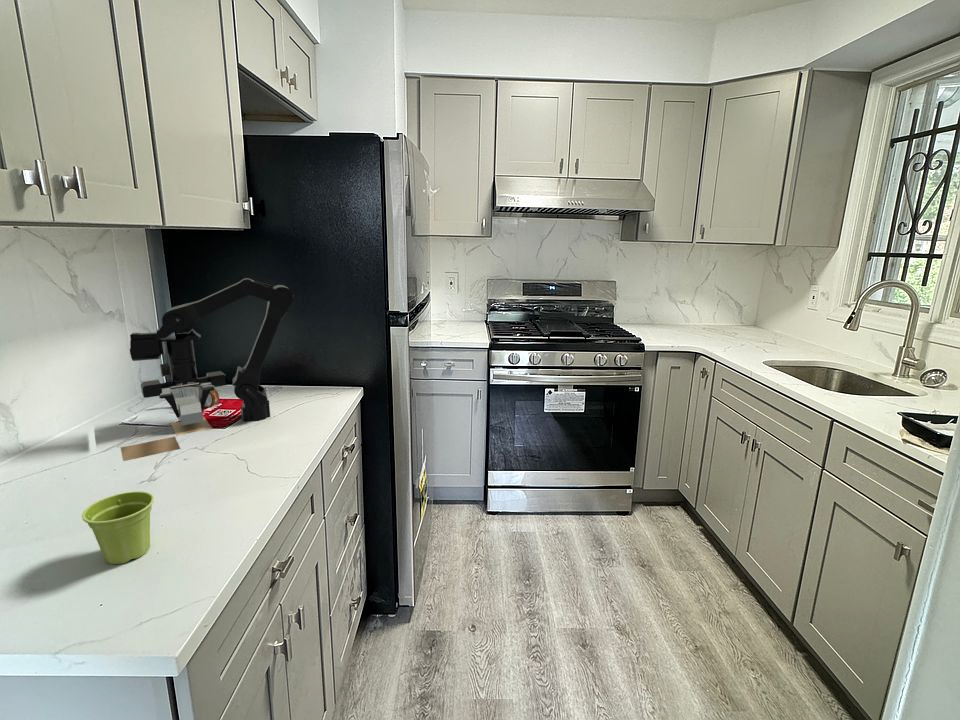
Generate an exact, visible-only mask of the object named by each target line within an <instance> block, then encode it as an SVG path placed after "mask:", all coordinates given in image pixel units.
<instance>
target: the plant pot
mask: <svg viewBox="0 0 960 720" xmlns="http://www.w3.org/2000/svg"><path fill="white" fill-rule="evenodd" d="M154 501H155V497H154V495H153V493H150V492H148V491H144V490H143V491H139V490H138V491H134V490H133V491H125V492H121V493H116V494H113V495H109V496H107V497H104V498H102V499H99V500H98V501H95V502H94V503H92V504H91V505H89V506H88V507H86V508H85V509H84V510H83V512H82V513H81V518H82V521H84V522H85V523H87V525H88V526H89V528H90V529H91V530H92V532H93V535H94V538H95V540H96V542H97V544H98V546H99V547H98V548H99V550H100V552H101V555H102V557H103V558H104V561H105V562H106V563H107V564H110V565H118V564H125V563H128V562H129V561H131V560H132V559H138V558H141V557H142V556H144V555H145V554H146V553H147V552H148V551H149V549H150V548H151V511H152V506H153V503H154Z"/></svg>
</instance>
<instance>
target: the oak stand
mask: <svg viewBox="0 0 960 720" xmlns="http://www.w3.org/2000/svg"><path fill="white" fill-rule="evenodd" d="M203 419H204V421H202V422H197V423H192V424H187V425H181V423H180V422H179V421H178V422H172V423H170V425H171V428H172V429H173V431H174V433H175V435H176V436H181V435H187V434H191V433H196V432H201V431H207V430H211V429H213V427H212V426H211V425H210V423H209V422H208V420H207V419H206V418H205V416H203Z"/></svg>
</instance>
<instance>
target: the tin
mask: <svg viewBox="0 0 960 720" xmlns="http://www.w3.org/2000/svg"><path fill="white" fill-rule="evenodd" d="M190 383H194V382H190ZM176 385H180V384H176ZM213 387H214V386H213ZM171 392H172V393H173V395H174V399H175V398H182V397H188V396H194V395H195V396H196V398H197V399H198V400H199V389H198V385H196V386H190V387H183V388H176V389H171ZM219 401H220V394H219V392H218V390H217V389H216V387H214V390H213V391H210V393H209V396H208V398H207V400H206V403H205V406H204V407H209V408H212V407H215V406H216V405H218V404H219ZM175 402H176V401H175Z"/></svg>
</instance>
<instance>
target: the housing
mask: <svg viewBox="0 0 960 720" xmlns="http://www.w3.org/2000/svg"><path fill="white" fill-rule="evenodd" d="M175 401H176V406H177V409H178V414H179V418H177V420H178V422H180V423H181V425H187V424H192V423H197V422H202V421H204V419H203V417H204V414H203V412H202V411H201V404H200V402H199V400H198V399H197V398H196V396H195V395H194V396H188V397H182V398H175Z"/></svg>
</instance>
